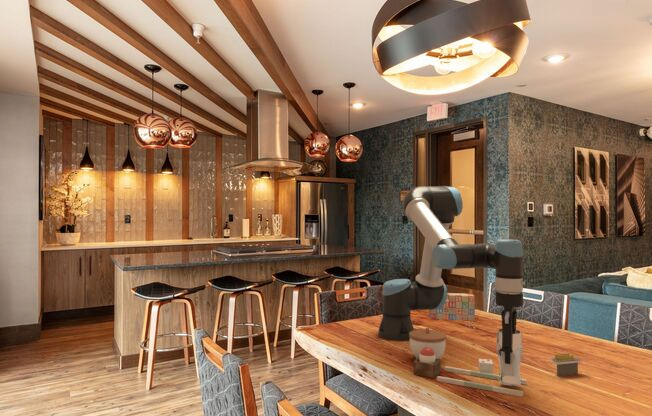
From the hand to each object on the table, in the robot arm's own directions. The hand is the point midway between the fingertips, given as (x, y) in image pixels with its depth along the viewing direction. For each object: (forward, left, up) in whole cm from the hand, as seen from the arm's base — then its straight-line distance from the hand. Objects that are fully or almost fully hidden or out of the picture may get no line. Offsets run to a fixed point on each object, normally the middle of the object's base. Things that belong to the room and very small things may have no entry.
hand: (509, 370), depth 127 cm
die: (-8, +8, -5) cm, 13 cm away
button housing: (-24, 0, -5) cm, 25 cm away
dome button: (-24, 0, -4) cm, 25 cm away
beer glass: (0, 0, -4) cm, 4 cm away
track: (-8, 0, -5) cm, 9 cm away
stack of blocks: (-35, +79, -5) cm, 87 cm away
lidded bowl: (-28, +12, -5) cm, 31 cm away
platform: (+14, +20, -6) cm, 26 cm away
